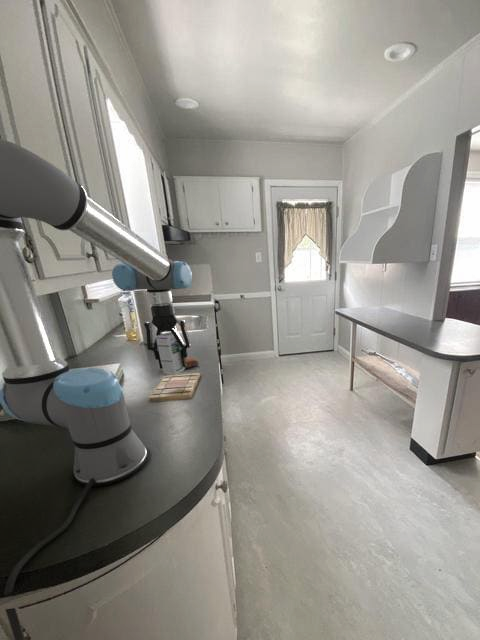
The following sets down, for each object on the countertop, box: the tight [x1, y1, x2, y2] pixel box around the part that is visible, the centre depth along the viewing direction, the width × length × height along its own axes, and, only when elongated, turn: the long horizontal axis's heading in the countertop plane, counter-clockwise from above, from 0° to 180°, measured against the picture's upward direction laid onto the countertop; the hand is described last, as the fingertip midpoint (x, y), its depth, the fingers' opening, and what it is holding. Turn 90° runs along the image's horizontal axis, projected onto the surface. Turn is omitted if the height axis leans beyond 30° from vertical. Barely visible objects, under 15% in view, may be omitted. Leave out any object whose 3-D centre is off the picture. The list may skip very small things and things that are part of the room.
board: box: [148, 372, 201, 402], centre depth 116 cm, size 22×14×2 cm, turn 7°
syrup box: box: [154, 331, 186, 375], centre depth 111 cm, size 6×6×14 cm
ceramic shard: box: [185, 356, 199, 369], centre depth 138 cm, size 15×6×15 cm
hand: (173, 366), depth 113 cm, fingers closed on syrup box, 7 cm apart
